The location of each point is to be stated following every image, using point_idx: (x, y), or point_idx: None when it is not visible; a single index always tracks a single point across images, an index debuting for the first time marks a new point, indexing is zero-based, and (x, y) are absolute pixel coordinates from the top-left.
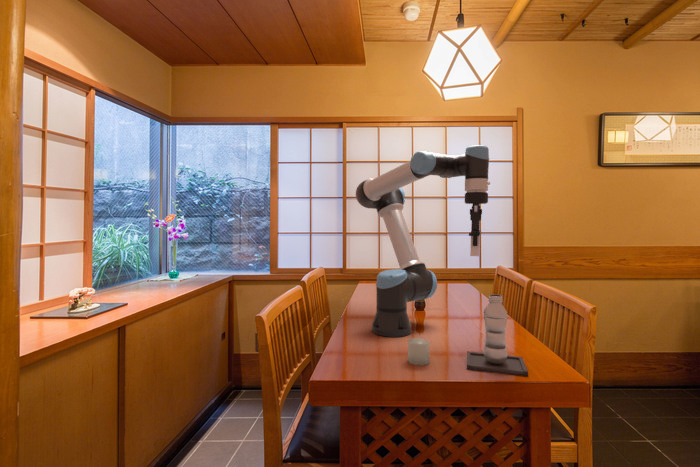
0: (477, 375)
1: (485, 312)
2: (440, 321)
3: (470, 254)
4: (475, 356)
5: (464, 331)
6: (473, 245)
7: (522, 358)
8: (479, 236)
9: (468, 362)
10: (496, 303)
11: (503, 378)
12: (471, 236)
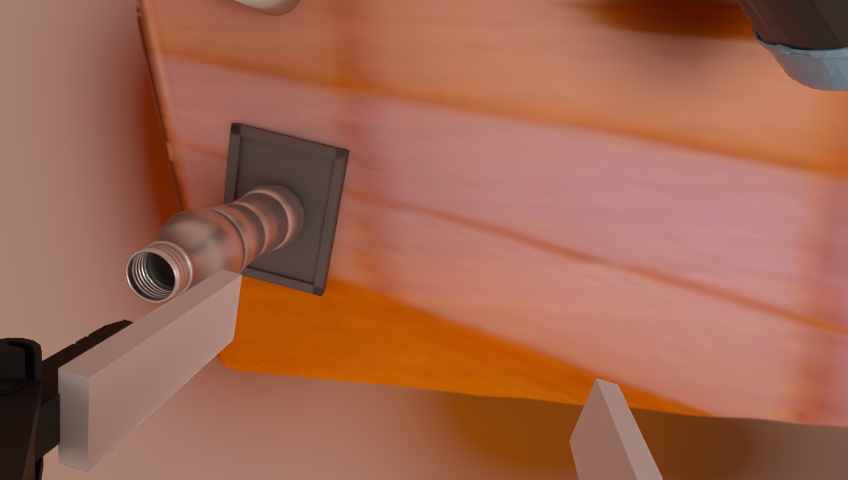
0: (204, 142)
1: (182, 213)
2: (781, 130)
3: (213, 274)
4: (322, 169)
5: (611, 203)
6: (119, 328)
7: (309, 292)
8: (59, 459)
9: (253, 133)
10: (149, 262)
11: (199, 202)
12: (62, 372)
